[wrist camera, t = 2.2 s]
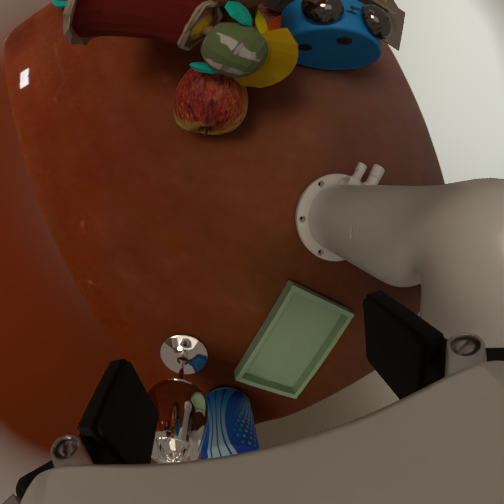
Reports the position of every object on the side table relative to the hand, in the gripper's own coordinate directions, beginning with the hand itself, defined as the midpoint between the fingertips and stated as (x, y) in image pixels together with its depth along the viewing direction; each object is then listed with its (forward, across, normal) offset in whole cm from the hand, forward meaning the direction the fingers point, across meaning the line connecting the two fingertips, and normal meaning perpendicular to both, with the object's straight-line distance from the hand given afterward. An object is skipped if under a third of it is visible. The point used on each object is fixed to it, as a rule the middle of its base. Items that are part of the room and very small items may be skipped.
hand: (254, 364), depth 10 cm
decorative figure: (+13, +12, -36) cm, 40 cm away
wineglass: (+30, +12, +16) cm, 36 cm away
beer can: (+30, +8, +28) cm, 42 cm away
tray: (+30, -5, +19) cm, 36 cm away
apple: (+26, -4, -22) cm, 35 cm away
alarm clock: (+30, -19, -24) cm, 43 cm away
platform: (+30, -32, -35) cm, 56 cm away
